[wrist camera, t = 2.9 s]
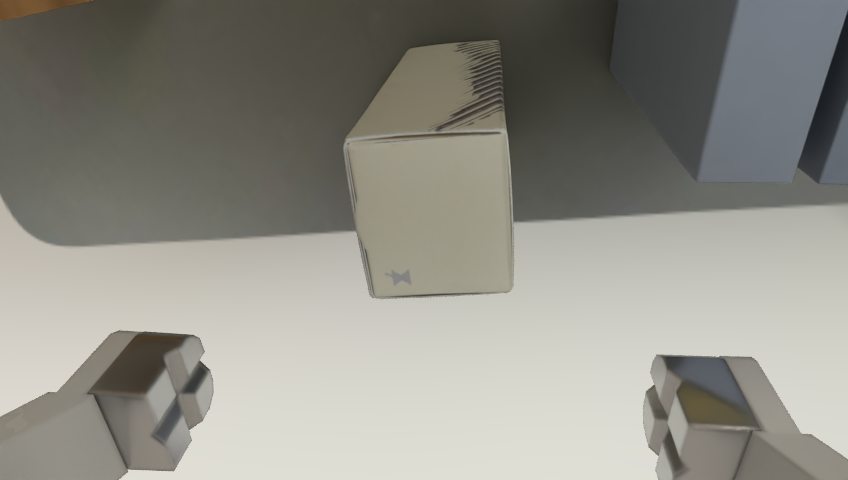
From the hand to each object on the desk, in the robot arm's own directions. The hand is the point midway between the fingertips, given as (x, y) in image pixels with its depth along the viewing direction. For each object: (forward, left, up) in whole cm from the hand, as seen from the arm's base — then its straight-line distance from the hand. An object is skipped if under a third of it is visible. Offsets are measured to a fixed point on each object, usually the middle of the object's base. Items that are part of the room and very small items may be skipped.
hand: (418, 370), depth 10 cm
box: (0, 0, -19) cm, 19 cm away
